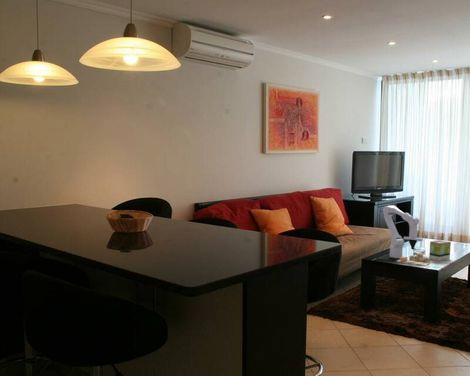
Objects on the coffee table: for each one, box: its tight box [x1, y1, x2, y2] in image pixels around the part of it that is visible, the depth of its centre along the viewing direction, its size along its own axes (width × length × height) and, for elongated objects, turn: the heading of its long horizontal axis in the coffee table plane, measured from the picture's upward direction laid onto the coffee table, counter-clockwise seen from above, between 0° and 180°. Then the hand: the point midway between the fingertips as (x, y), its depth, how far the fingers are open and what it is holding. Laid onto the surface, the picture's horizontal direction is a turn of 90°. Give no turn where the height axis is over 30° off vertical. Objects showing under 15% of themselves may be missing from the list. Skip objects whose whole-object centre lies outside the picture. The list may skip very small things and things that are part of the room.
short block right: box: [423, 256, 431, 264], centre depth 374 cm, size 4×4×4 cm
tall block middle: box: [415, 252, 424, 262], centre depth 378 cm, size 4×4×6 cm
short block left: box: [409, 254, 416, 261], centre depth 381 cm, size 4×4×4 cm
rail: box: [396, 259, 430, 267], centre depth 371 cm, size 22×8×1 cm, turn 48°
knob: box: [399, 255, 408, 261], centre depth 375 cm, size 4×4×3 cm
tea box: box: [428, 239, 451, 262], centre depth 387 cm, size 15×10×15 cm
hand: (412, 249), depth 380 cm, fingers closed
